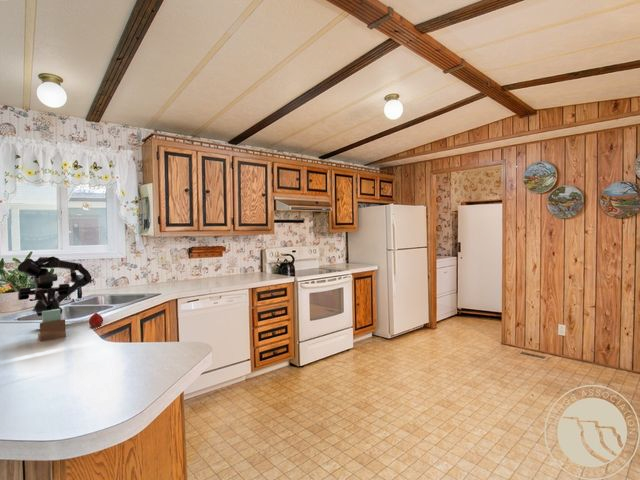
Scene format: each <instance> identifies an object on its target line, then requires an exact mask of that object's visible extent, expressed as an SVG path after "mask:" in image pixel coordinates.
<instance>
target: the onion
mask: <svg viewBox="0 0 640 480" xmlns="http://www.w3.org/2000/svg"><path fill="white" fill-rule="evenodd" d="M88 323H89V325H90V326H91V327H92V328H98V327H100V326H102V325H103V323H104V318H103V317H102V316H101V314H98V311H96V312H94V313H93V315H91V316H90V317H89V319H88Z"/></svg>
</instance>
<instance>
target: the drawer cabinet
mask: <svg viewBox="0 0 640 480" xmlns="http://www.w3.org/2000/svg"><path fill="white" fill-rule="evenodd" d="M37 336H38V337H37V338H38V339H39V341H40V342H41V343H43V342H47V341H48V342H49V341H52V340H57V339H58V340H59V339H62V338H66V337H67V331H66V319H65V318H64V319H61V320H56V321H50V322H44V323H42V322H39V333H38V334H37Z"/></svg>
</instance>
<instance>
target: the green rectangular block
mask: <svg viewBox="0 0 640 480" xmlns="http://www.w3.org/2000/svg"><path fill="white" fill-rule="evenodd" d="M61 315H62V314H61V313H60V309H54V310H47V311H42V316H41V319H42V320H41V321H42V322H41V323H44V322H50V321H56V320H62V319H61V318H62V316H61Z"/></svg>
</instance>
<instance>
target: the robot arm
mask: <svg viewBox="0 0 640 480" xmlns="http://www.w3.org/2000/svg"><path fill="white" fill-rule="evenodd" d="M57 268H58V269H63V270H70V273H69V274H70V275H69V276H70V277H71V278H70V282H68V283H67V282H66V283H59V284H58V286H57V287H53V285H54V283H53V282H58V278H59V277H58V274H57V273H51V272H50V271H49V269H57ZM17 270H18V272H20V273H23V274H24V275H26V276H28V277H33V279H34V285H35V289H32V290H31V287H29V286H27V287H20V288H18V290H17V291H18V292H17V299H18V301H23V300H29V299H30V296H33V295H34V299H35V300H37V302H36V304H35V306H34V310H35V312H36V315H37V317H42V311H47V310H54V309H60V313H61V315H62V313H63V309H62V307H60V305H61V303H62V302H63V301H64V300H65V299H67V297H69V296H70V295H72V294H73V293H74V292H75V291H76V290H77V289H79V288H81V287H84V286H87V285H89V284H90V283H91V282H92V278H93V277H92V276H91V274H90V272H89V270H88V269H86V268H85V267H84V266H83V265H82V263H79V262H74V261H73V262H72V261H68V260H67V261H66V260H61V259H60V258H58V257H56V256H39V258H38V259H37V260H33V259H32V258H26V259H25V260H23V261H22V262H21V263H19V264H18V265H17ZM76 271H78V272H79V273H77V272H76Z"/></svg>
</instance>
